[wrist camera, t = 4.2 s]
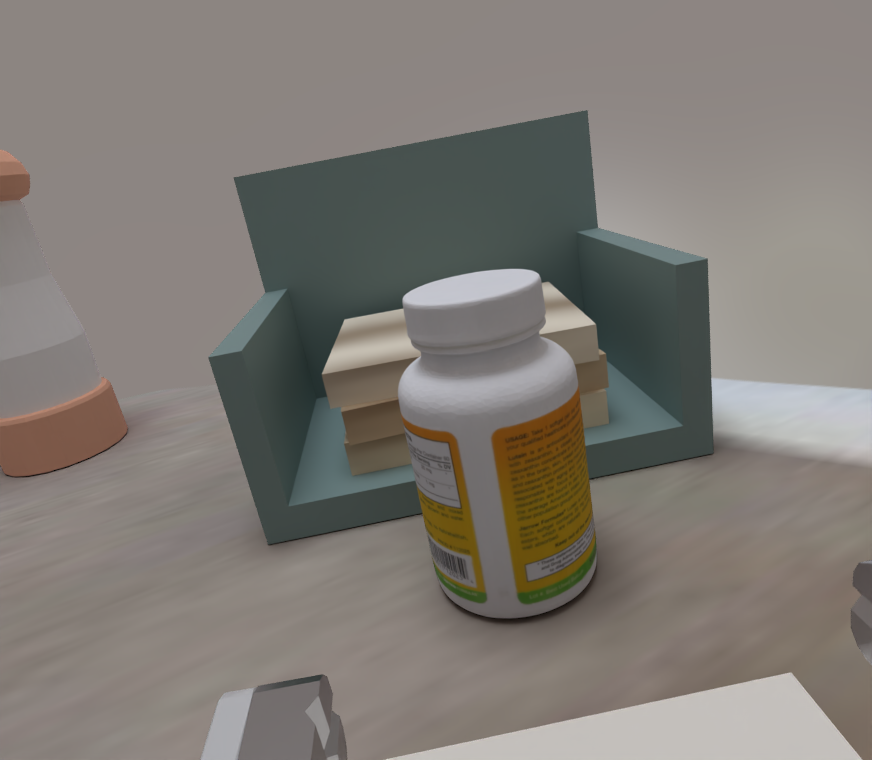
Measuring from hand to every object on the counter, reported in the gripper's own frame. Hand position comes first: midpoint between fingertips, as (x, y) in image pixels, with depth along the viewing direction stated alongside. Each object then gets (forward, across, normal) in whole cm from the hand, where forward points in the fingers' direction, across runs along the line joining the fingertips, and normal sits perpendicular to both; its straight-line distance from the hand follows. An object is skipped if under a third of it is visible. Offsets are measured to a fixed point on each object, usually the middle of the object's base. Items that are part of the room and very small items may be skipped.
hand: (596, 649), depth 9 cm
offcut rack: (+21, 0, +6) cm, 21 cm away
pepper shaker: (+31, +25, +6) cm, 40 cm away
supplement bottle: (+10, 0, +6) cm, 12 cm away
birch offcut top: (+21, 0, +1) cm, 21 cm away
